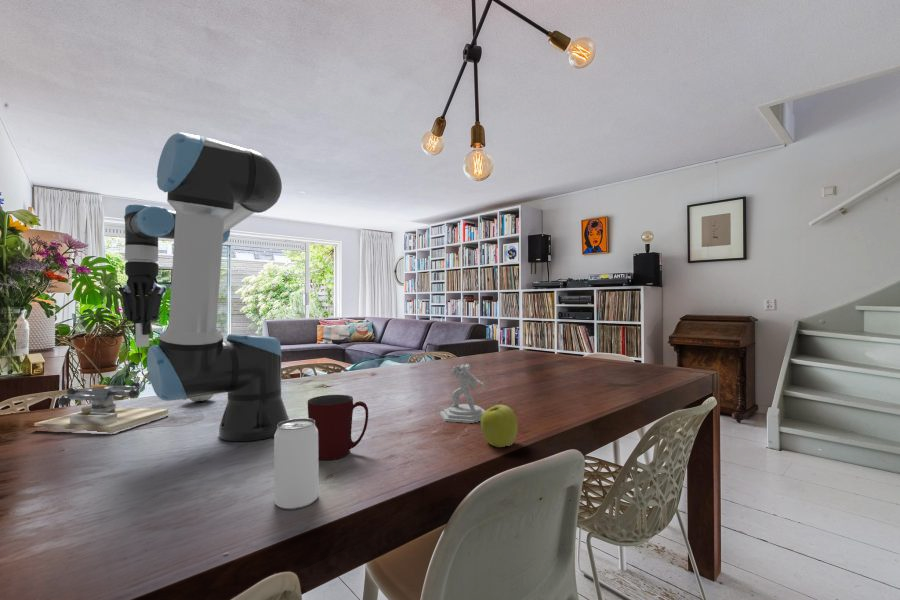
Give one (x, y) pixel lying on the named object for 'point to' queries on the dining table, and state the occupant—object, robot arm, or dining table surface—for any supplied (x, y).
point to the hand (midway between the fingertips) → (142, 346)
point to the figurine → (466, 411)
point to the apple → (499, 425)
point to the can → (296, 463)
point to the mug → (334, 424)
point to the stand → (104, 419)
